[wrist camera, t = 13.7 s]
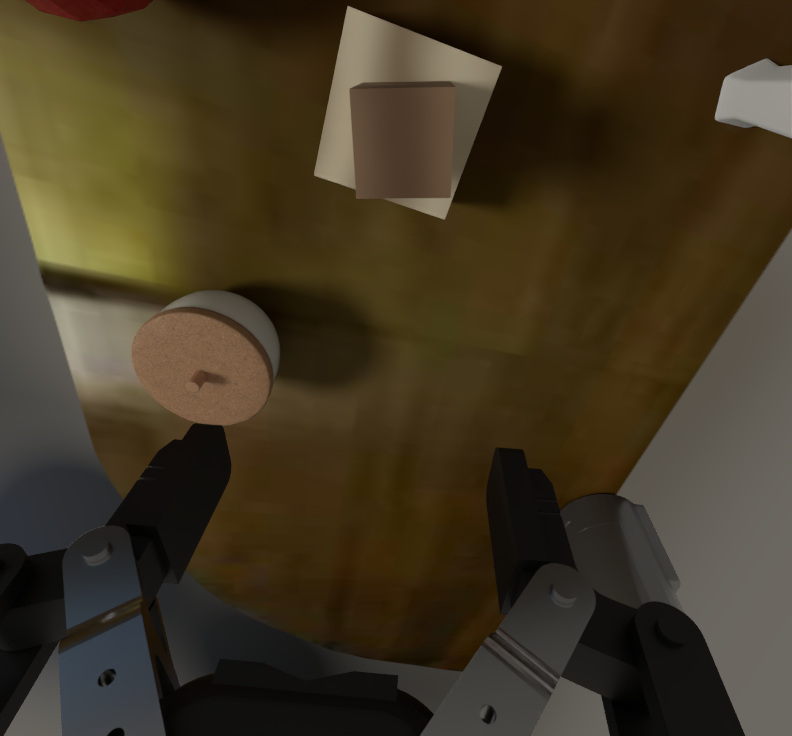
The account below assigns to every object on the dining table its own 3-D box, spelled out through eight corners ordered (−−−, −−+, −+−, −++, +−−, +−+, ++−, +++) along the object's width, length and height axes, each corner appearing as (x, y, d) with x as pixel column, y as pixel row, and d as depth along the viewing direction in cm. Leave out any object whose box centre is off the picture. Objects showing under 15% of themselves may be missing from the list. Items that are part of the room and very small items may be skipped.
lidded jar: (275, 388, 46) (244, 456, 38) (167, 347, 43) (111, 410, 36) (309, 301, 40) (282, 361, 32) (187, 249, 38) (126, 299, 30)
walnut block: (449, 80, 26) (455, 86, 21) (445, 173, 29) (450, 198, 24) (362, 82, 26) (349, 88, 21) (367, 174, 29) (356, 198, 24)
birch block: (491, 64, 30) (502, 66, 26) (442, 200, 35) (444, 219, 31) (358, 12, 29) (347, 6, 24) (327, 160, 34) (313, 175, 29)
